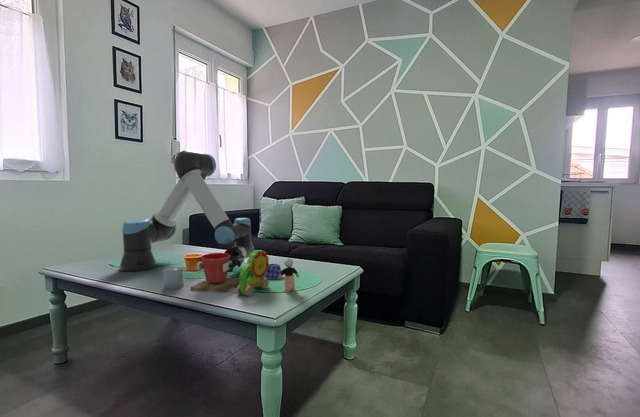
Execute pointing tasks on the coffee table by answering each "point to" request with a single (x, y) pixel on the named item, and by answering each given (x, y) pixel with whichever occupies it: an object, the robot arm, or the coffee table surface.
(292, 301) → the coffee table surface
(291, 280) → the grandmother figurine
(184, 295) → the coffee table surface
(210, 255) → the flower pot
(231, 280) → the trivet
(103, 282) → the coffee table surface
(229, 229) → the robot arm
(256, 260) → the toy lion
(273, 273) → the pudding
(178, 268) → the grey rounded cylinder
